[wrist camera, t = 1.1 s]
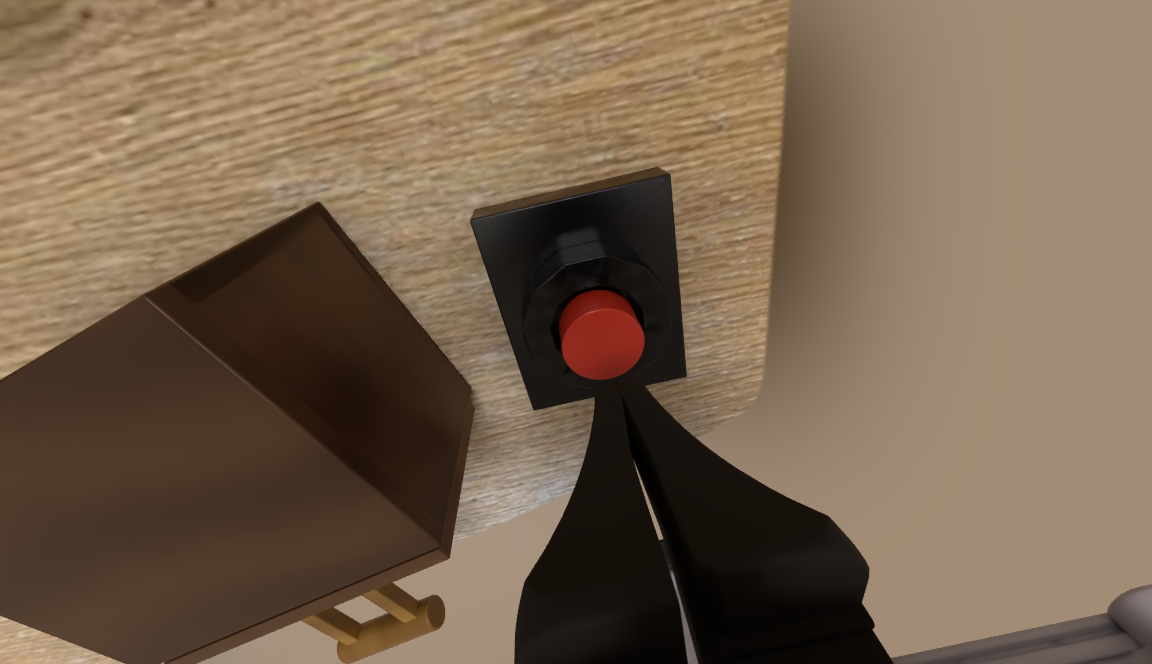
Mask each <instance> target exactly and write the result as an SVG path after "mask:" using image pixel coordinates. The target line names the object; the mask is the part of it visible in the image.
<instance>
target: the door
mask: <svg viewBox="0 0 1152 664" xmlns="http://www.w3.org/2000/svg"><path fill="white" fill-rule="evenodd" d="M474 410H475V408H474V407H473V406H472V405H471V403H470V402H468V407H467V412H466V417H465V423H464V428H463V433H462V438H461V443H460V449H459V454H458V459H457V464H456V470H455V475H454V480H453V485H452V490H451V496H450V501H449V506H448V511H447V517H446V522H445V527H444V533H443V538H442V543H441V546H439V547H437V548H435V549H432V550H430V551H427V552H425V553H423V554H420V555H418V556H416V557H413V558H411V559H408V560H406V561H404V562H401V563H399V564H397V565H394V566H392V567H389V568H387V569H385V570H382V571H380V572H378V573H375V574H373V575H370V576H368V577H366V578H363V579H361V580H359V581H356V582H354V583H351V584H349V585H347V586H344V587H342V588H340V589H337V590H335V591H332V592H330V593H328V594H325V595H323V596H321V597H318V598H316V599H313V600H311V601H309V602H306V603H304V604H302V605H299V606H297V607H294V608H292V609H290V610H287V611H285V612H283V613H280V614H278V615H275V616H273V617H271V618H268V619H266V620H264V621H261V622H259V623H256V624H254V625H252V626H249V627H247V628H245V629H242V630H240V631H237V632H235V633H233V634H230V635H228V636H226V637H223V638H221V639H218V640H216V641H214V642H211V643H209V644H207V645H204V646H202V647H199V648H197V649H195V650H192V651H190V652H188V653H185V654H183V655H180V656H178V657H176V658H173V659H171V660H169V661H166V662H165V663H164V664H196V663H198V662H201V661H204V660H206V659H208V658H211V657H213V656H216V655H218V654H220V653H223V652H225V651H228V650H230V649H233V648H235V647H237V646H240V645H242V644H245V643H247V642H249V641H252V640H254V639H257V638H259V637H262V636H264V635H266V634H269V633H271V632H274V631H276V630H278V629H281V628H283V627H285V626H288V625H291V624H293V623H295V622H298V621H300V620H301V621H303V622H305V623H307V624H308V625H310V626H312V627H314V628H315V629H317V630H319V631H321V632H323V633H325V634H326V635H328V636H330V637H332V638H334V639H335V640H337V641H338V644H337V653H338V657H339V659H340V660H341V661H342V662H343V663H345V664H349V663H353V662H355V661H358V660H360V659H363V658H366V657H368V656H371V655H373V654H376V653H379V652H381V651H384V650H386V649H389V648H391V647H394V646H396V645H399V644H401V643H404V642H407V641H410V640H412V639H415V638H417V637H420V636H422V635H425V634H427V633H430V632H433V631H435V630H438V629H439V628H440V627H441V626H442V625H443V623H444V619H445V607H444V603H443V601H442V599H441V598H440V597H439V596H437V595H431V596H429V597H426V598H424V599H421V600H419V601H417V600H416V599H415V598H413V597H412V596H411V595H409V594H407V593H406V592H405V591H403V590H402V589H400V588H399V587H398V586H396V585H395V584H394V583H392V582H394V581H397V580H399V579H401V578H404V577H406V576H409V575H411V574H414V573H416V572H418V571H421V570H423V569H426V568H428V567H431V566H433V565H435V564H438V563H440V562H443V561H445V560H447V559H449V558H450V553H451V547H452V541H453V535H454V529H455V523H456V517H457V511H458V505H459V499H460V493H461V487H462V481H463V475H464V469H465V463H466V457H467V451H468V445H469V440H470V434H471V428H472V422H473V416H474ZM361 595H362V596H364V597H365V598H367V599H368V600H370V601H371V602H373V603H374V604H376V605H378V606H379V607H381V608H382V609H384V610H385V611H387V612H388V613H387V614H384V615H382V616H379V617H377V618H374V619H371V620H369V621H367V622H364V623H362V624H360V623H359V622H357V621H355V620H354V619H352V618H350V617H349V616H347V615H345V614H344V613H342V612H340V611H339V610H337V609H335V608H334V606H336V605H339V604H341V603H344V602H346V601H348V600H351V599H353V598H356V597H358V596H361Z"/></svg>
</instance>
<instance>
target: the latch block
mask: <svg viewBox="0 0 1152 664" xmlns="http://www.w3.org/2000/svg"><path fill="white" fill-rule="evenodd" d="M470 223H471V226H472V229H473V232H474V235H475V238H476V241H477V244H478V247H479V250H480V253H481V256H482V258H483V261H484V264H485V267H486V270H487V273H488V276H489V279H490V282H491V285H492V288H493V291H494V294H495V297H496V300H497V303H498V306H499V309H500V312H501V315H502V318H503V321H504V324H505V327H506V330H507V333H508V336H509V339H510V342H511V345H512V348H513V351H514V354H515V357H516V360H517V363H518V366H519V369H520V372H521V375H522V378H523V381H524V384H525V387H526V390H527V393H528V396H529V399H530V402H531V405H532V408H533V410H539V409H544V408H548V407H553V406H557V405H562V404H566V403H571V402H575V401H580V400H584V399H589V398H593V397H595V393H594V389H595V388H596V387H597V386H599V385H604V384H608V383H613V382H617V381H621V380H626V379H630V378H635V377H637V378H638V379H640V380H641V381H642V383H643V384H644V386H647V385H651V384H656V383H660V382H665V381H669V380H674V379H678V378H683V377H686V376H687V372H686V360H685V348H684V335H683V323H682V311H681V298H680V286H679V274H678V262H677V249H676V237H675V225H674V213H673V200H672V188H671V176H670V174H669V173H667V172H666V171H664V170H662V169H661V168H659V167H657V168H652V169H648V170H644V171H639V172H635V173H631V174H627V175H622V176H618V177H614V178H609V179H605V180H601V181H596V182H592V183H588V184H583V185H579V186H575V187H570V188H566V189H562V190H557V191H553V192H549V193H544V194H540V195H536V196H532V197H527V198H523V199H519V200H514V201H510V202H506V203H501V204H497V205H493V206H488V207H484V208H480V209H476V210H474V213H473V215H472V217H471V219H470ZM592 290H608V291H612V292H615V293H617V294H619V295H621V296H622V297H624V298H625V299H626V300H627V301H628V302H629V304H630V305H631V307H632V309H633V311H634V313H635V315H636V317H637V319H638V321H639V323H640V325H641V328H642V330H643V333H644V348H643V352H642V354H641V356H640V358H639V360H638V361H637V362H636V364H635V365H634V366H633V367H632V368H630V369H629V370H628V371H626V372H625V373H623V374H621V375H619V376H617V377H614V378H610V379H604V380H595V379H589V378H585V377H583V376H580V375H579V374H577V373H576V372H574V371H573V370H572V369H571V368H570V367H569V366H568V365H567V363H566V362H565V360H564V357H563V354H562V347H561V340H560V332H559V321H560V317H561V314H562V312H563V310H564V308H565V307H566V306H567V304H568V303H569V302H570V301H571V300H572V299H574V298H575V297H577V296H578V295H580V294H582V293H585V292H588V291H592Z"/></svg>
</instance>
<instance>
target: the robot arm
mask: <svg viewBox="0 0 1152 664" xmlns="http://www.w3.org/2000/svg"><path fill="white" fill-rule="evenodd" d="M594 393H595V407H594V416H593V423H592V428H591V434H590V439H589V443H588V447H587V451H586V454H585V458H584V462H583V465H582V468H581V471H580V474H579V477H578V480H577V483H576V485H575V488H574V490H573V493H572V495H571V498H570V500H569V503H568V505H567V507H566V509H565V512H564V514H563V516H562V518H561V520H560V522H559V524H558V526H557V528H556V529H555V532H554V533H553V535H552V537H551V539H550V541H549V543H548V545H547V546H546V548H545V550H544V552H543V553H542V555H541V556H540V558H539V560H538V561H537V563H536V564H535V566H534V568H533V569H532V571H531V572H530V574H529V576H528V577H527V579H526V580H525V582H524V586H523V590H522V595H521V599H520V604H519V609H518V615H517V622H516V631H515V659H514V664H1152V584H1151V585H1146V586H1141V587H1137V588H1134V589H1131V590H1129V591H1127V592H1125V593H1123V594H1121V595H1120V596H1118V597H1117V598H1116V599H1115V600H1114V601H1113V602H1112V603H1111V604H1110V606H1109V607H1108V611H1107V613H1104V614H1099V615H1094V616H1090V617H1085V618H1080V619H1075V620H1070V621H1066V622H1061V623H1056V624H1051V625H1047V626H1042V627H1037V628H1032V629H1028V630H1023V631H1018V632H1013V633H1009V634H1004V635H999V636H995V637H990V638H985V639H981V640H976V641H971V642H966V643H961V644H956V645H952V646H947V647H942V648H938V649H933V650H929V651H923V652H918V653H914V654H909V655H904V656H900V657H895V658H890V657H889V655H888V654H887V652H886V650H885V649H884V647H883V646H882V644H881V643H880V641H879V639H878V638H877V636H876V635H875V633H874V632H873V630H872V629H874V626H875V625H874V622H873V620H872V618H871V617H870V615H869V614H868V612H867V610H866V609H865V607H864V606H863V604H862V600H863V597H864V593H865V590H866V586H867V583H868V579H869V566H868V565H867V563H866V561H865V559H864V558H863V556H862V555H861V553H860V552H859V550H858V549H857V548H856V546H855V545H854V544H853V543H852V541H851V540H850V539H849V538H848V537H847V536H846V535H845V534H844V532H843V531H842V530H841V529H840V528H839V527H838V526H837V525H836V524H835V522H834V521H833V520H831V518H830V517H829V516H827V515H825V514H823V513H821V512H818V511H816V510H814V509H812V508H809V507H807V506H805V505H803V504H801V503H798V502H796V501H794V500H792V499H790V498H788V497H786V496H784V495H782V494H780V493H778V492H776V491H774V490H772V489H770V488H769V487H767V486H765V485H764V484H762V483H760V482H758V481H757V480H755V479H754V478H752V477H750V476H749V475H747V474H745V473H744V472H742V471H740V470H739V469H737V468H736V467H734V466H733V465H731V464H730V463H728V462H727V461H725V460H724V459H722V458H721V457H720V456H718V455H717V454H715V453H714V452H713V451H711V450H710V449H709V448H708V447H706V446H705V445H704V444H702V443H701V442H700V441H699V440H698V439H696V438H695V437H694V436H693V435H692V434H691V433H689V432H688V431H687V430H686V429H685V428H684V427H683V426H682V425H680V424H679V423H678V422H677V421H676V420H675V419H674V418H673V417H672V416H671V415H670V414H669V413H668V412H667V411H666V410H665V409H664V408H663V407H662V406H661V405H660V404H659V402H658V401H657V400H656V399H655V398H654V397H653V396H652V394H651V393H650V392H649V391H648V390H647V388H646V387H645V386H644V384H643V383H642V381H641V380H640V379H638V378H637V377H635V378H630V379H626V380H621V381H617V382H613V383H608V384H604V385H599V386H597V387H596V388H595V389H594ZM633 458H634V459H633ZM634 461H635V464H636V467H637V469H638V472H639V474H640V477H641V480H642V482H643V485H644V487H645V490H646V493H647V495H648V498H649V500H650V503H651V506H652V508H653V511H654V514H655V516H656V519H657V521H658V524H659V527H660V530H661V533H662V536H663V539H664V542H665V546H666V549H667V553H668V556H669V560H670V563H671V567H672V570H669V568H668V565H667V562H666V559H665V557H664V554H663V551H662V548H661V545H660V542H659V539H658V536H657V533H656V530H655V528H654V524H653V522H652V518H651V515H650V512H649V509H648V506H647V503H646V500H645V497H644V493H643V490H642V487H641V484H640V481H639V477H638V474H637V471H636V468H635V464H634Z"/></svg>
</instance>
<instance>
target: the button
mask: <svg viewBox="0 0 1152 664" xmlns="http://www.w3.org/2000/svg"><path fill="white" fill-rule="evenodd" d="M559 332H560V340H561V347H562V354H563V357H564V360H565V362H566V363H567V365H568V366H569V367H570V368H571V369H572V370H573V371H574V372H576V373H577V374H579V375H580V376H583V377H585V378H589V379H595V380H604V379H610V378H614V377H617V376H619V375H621V374H623V373H625V372H626V371H628V370H629V369H630V368H632V367H633V366H634V365H635V364H636V362H637V361H638V360H639V358H640V356H641V354H642V352H643V348H644V333H643V330H642V328H641V325H640V323H639V321H638V319H637V317H636V315H635V313H634V311H633V309H632V307H631V305H630V304H629V302H628V301H627V300H626V299H625V298H624V297H622V296H621V295H619V294H617V293H615V292H612V291H608V290H592V291H588V292H585V293H582V294H580V295H578V296H577V297H575V298H574V299H572V300H571V301H570V302H569V303H568V304H567V306H566V307H565V308H564V310H563V312H562V314H561V317H560V321H559Z"/></svg>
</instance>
